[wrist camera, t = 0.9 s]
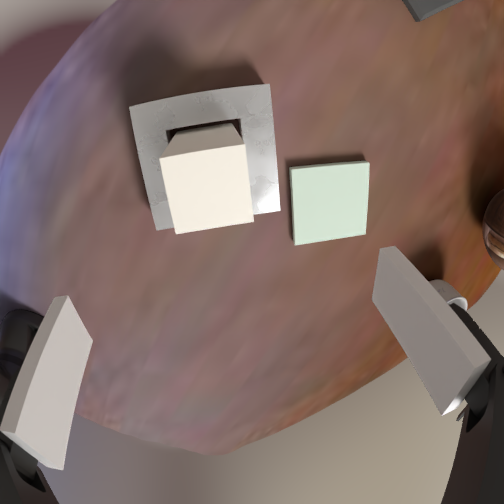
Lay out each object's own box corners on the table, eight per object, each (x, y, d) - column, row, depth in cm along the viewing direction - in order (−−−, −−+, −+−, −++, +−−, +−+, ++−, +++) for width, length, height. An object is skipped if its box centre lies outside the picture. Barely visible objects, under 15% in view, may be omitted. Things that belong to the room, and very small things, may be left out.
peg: (186, 182, 34) (176, 234, 23) (176, 131, 31) (159, 158, 20) (237, 173, 34) (253, 221, 23) (231, 122, 31) (245, 144, 20)
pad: (293, 241, 40) (295, 245, 39) (289, 167, 35) (291, 169, 34) (362, 230, 41) (365, 234, 40) (365, 160, 35) (369, 162, 35)
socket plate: (160, 219, 36) (156, 230, 33) (135, 104, 29) (129, 106, 26) (275, 200, 37) (280, 210, 34) (264, 84, 29) (269, 83, 27)
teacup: (426, 263, 46) (452, 291, 39) (453, 281, 50) (477, 307, 43) (378, 323, 51) (396, 354, 44) (410, 333, 55) (428, 361, 48)
